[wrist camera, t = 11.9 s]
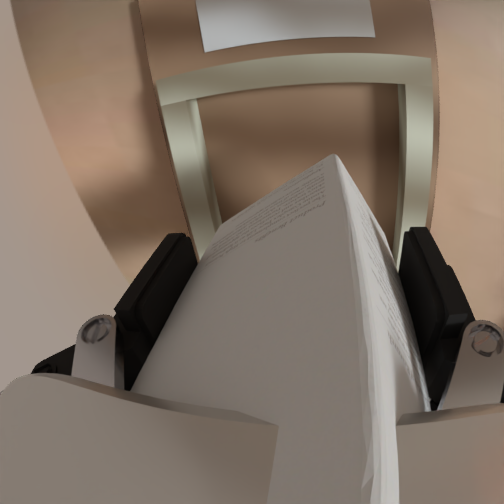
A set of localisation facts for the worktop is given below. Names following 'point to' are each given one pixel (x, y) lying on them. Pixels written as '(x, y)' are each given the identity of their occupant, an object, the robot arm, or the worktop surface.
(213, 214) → the framed base plate
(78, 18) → the worktop surface
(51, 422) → the robot arm
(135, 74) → the worktop surface
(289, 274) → the skincare box
